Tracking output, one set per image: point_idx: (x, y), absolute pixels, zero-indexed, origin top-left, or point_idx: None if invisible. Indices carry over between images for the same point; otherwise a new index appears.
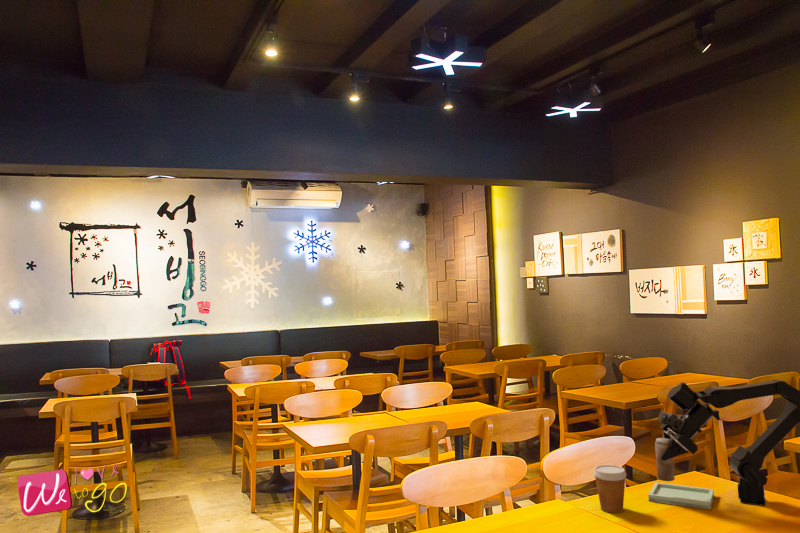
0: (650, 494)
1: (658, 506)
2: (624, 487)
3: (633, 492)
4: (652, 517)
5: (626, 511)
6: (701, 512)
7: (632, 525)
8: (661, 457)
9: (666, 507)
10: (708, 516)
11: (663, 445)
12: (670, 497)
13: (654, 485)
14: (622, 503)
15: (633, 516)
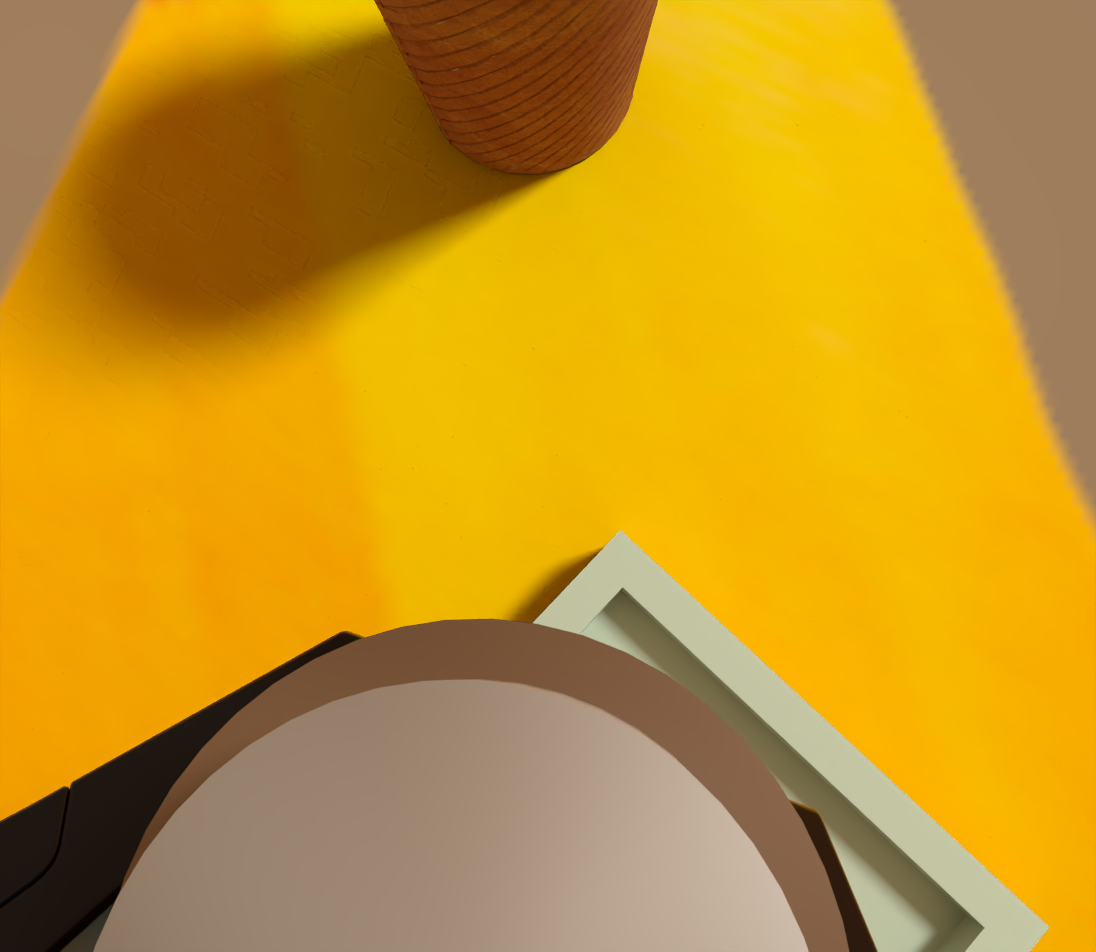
0: (618, 557)
1: (447, 544)
2: (400, 12)
3: (938, 547)
4: (218, 314)
5: (437, 176)
6: None
7: (135, 60)
8: (337, 640)
9: (392, 606)
10: None
11: (190, 775)
12: None
13: (920, 822)
14: (423, 91)
15: (305, 171)
